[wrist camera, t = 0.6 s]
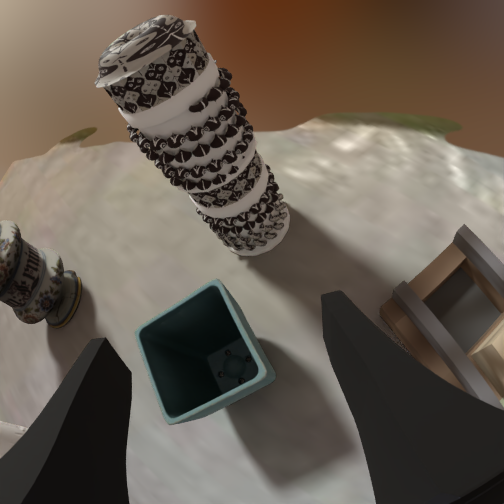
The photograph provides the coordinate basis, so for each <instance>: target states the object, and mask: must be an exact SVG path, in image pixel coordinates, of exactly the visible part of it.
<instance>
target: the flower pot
mask: <svg viewBox="0 0 504 504" xmlns="http://www.w3.org/2000/svg"><path fill="white" fill-rule="evenodd" d="M135 338H136V341H137V344H138V348H139V350H140V353H141V356H142V359H143V361H144V365H145V367H146V370H147V373H148V376H149V379H150V382H151V384H152V387H153V390H154V393H155V395H156V398H157V401H158V404H159V406H160V409H161V412H162V415H163V417H164V419H165V421H166V422H167V423H168V424H169V425H174V424H179V423H184V422H188V421H192V420H196V419H200V418H203V417H206V416H208V415H210V414H212V413H214V412H216V411H218V410H220V409H222V408H224V407H226V406H228V405H230V404H232V403H234V402H236V401H238V400H240V399H242V398H244V397H246V396H247V395H249V394H251V393H253V392H255V391H257V390H259V389H261V388H263V387H264V386H266V385H268V384H270V383H272V382H273V381H274V380H275V379H276V374H275V372H274V370H273V368H272V366H271V364H270V362H269V361H268V359H267V357H266V355H265V353H264V352H263V350H262V348H261V346H260V344H259V342H258V340H257V339H256V337H255V335H254V333H253V331H252V329H251V327H250V325H249V323H248V322H247V320H246V318H245V316H244V314H243V312H242V310H241V308H240V306H239V305H238V303H237V302H236V301H235V299H234V298H233V297H232V295H231V294H230V293H229V291H228V290H227V289H226V287H225V286H224V285H223V284H222V282H221V281H220V280H219V279H214V280H211V281H209V282H208V283H206V284H205V285H203V286H202V287H200V288H199V289H197V290H196V291H194V292H193V293H191V294H190V295H188V296H187V297H185V298H183V299H182V300H181V301H179V302H177V303H176V304H174V305H173V306H171V307H170V308H168V309H166V310H165V311H163V312H162V313H160V314H158V315H156V316H155V317H154V318H152V319H150V320H149V321H147V322H146V323H144V324H142V325H141V326H140V327H138V328H137V329H136V331H135ZM227 351H230V352H231V354H230V355H229V356H227V355H226V352H227ZM247 357H251V361H250V362H248V361H247V360H246V358H247ZM220 372H223V373H224V376H223V377H220V376H219V374H220ZM240 379H244V383H243V384H241V383H240Z"/></svg>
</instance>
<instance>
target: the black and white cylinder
mask: <svg viewBox="0 0 504 504" xmlns="http://www.w3.org/2000/svg"><path fill="white" fill-rule="evenodd" d="M195 27H196V23H195V21H190V20H186V21H183V20H181V19H179V18H177V17H175V16H172V15H160V16H158V17H154V18H152V19H149V20H147V21H145V22H143V23H141V24H139V25H137V26H136V27H134V28H132V29H131V30H129V31H128V32H126V33H125V34H123V35H122V36H120V37H119V38H118V39H117V40H115V41H114V42H113V43H112V44H110V46H109V47H107V48H106V49H105V51H104V52H103V53H102V55H101V57H100V59H99V76H98V78H97V80H96V82H95V85H96V86H97V87H104V89H105V90H106V91H107V92H108V94H109V95H110V96H111V98H112V99H113V100H114V102H115V103H116V104H117V105H118V107H119V109H118V110H119V111H120V113H121V114H122V116H123V117H124V118H125V119H126V120H127V122H128V125H127V130H128V131H129V132H130V139H131V141H133V142H137V145H138V146H139V147H140V150H141V152H143V153H147V154H146V157H147V158H148V159H149V160H152V161H153V160H155V166H156V167H157V168H158V169H162V172H163V174H164V176H165V177H166V178H170V183H171V184H172V185H174V186H176V187H177V188H178V189H180V190H183V191H185V192H188V194H189V197H190V198H191V200H192V201H193V202H194V204H195V205H196V206H197V209H196V211H197V213H198V214H199V215H203V221H205V222H206V223H210V229H211V230H212V231H213V232H214V233H216V235H217V237H218V238H219V239H221V240H222V242H223V244H224V245H225V246H227V247H228V248H229V250H230V251H232V252H234V253H236V254H239V255H241V256H257V255H260V254H262V253H265V252H268V251H270V250H271V249H273V248H274V247H275V246H276V245H277V244H279V243H280V242H281V241H282V239H283V238H284V236H285V234H286V233H287V231H288V229H289V223H290V214H289V212H288V209H287V204H286V203H285V202H283V201H282V199H283V195H282V194H278V193H277V192H276V191H278V190H279V187H278V184H277V183H276V182H273V181H274V175H273V173H271V172H270V167H269V166H268V165H266V164H265V163H264V161H263V159H262V157H261V155H260V154H258V153H257V151H256V145H257V142H256V139H255V136H254V133H253V127H252V125H250V124H249V122H248V121H247V120H246V118H245V116H246V114H247V111H246V109H245V108H244V107H243V105H242V103H240V102H239V97H240V96H239V93H238V92H237V91H235V90H234V89H233V88H231V87H229V86H230V80H231V79H232V74H231V73H229V72H228V70H227V69H225V68H217V66H216V64H215V63H216V60H215V61H214V60H213V58H212V56H211V55H210V53H207V52H206V51H205V49H204V47H203V45H202V43H201V41H200V40H199V37H198V35H197V34H196V32H195V30H194V28H195ZM219 76H220V77H221V78H220V77H219ZM235 110H236V111H237V112H238V113H239V115H237V113H236V111H235ZM137 130H140V131H141V132H140V133H139V135H137V133H136V132H137ZM148 147H150V149H149V148H148Z"/></svg>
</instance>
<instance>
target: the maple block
mask: <svg viewBox="0 0 504 504" xmlns="http://www.w3.org/2000/svg"><path fill="white" fill-rule="evenodd" d="M471 356H472V358H473V359H474V360H475V362H476V363H477V364H478V366H479V367H480V368H481V370H482V371H483V372H484V374H485V375H486V377H487V378H488V379H489V381H490V382H491V384H492V385H493V386H494V388H495V389H496V391H497V392H498V394H499V395H500V396H504V319H503V320H502V321H501V322H500V323H499V325H498V326H497V327H496V328H495V329H494V330H493V332H492V333H491V334H490V335H489V336H488V337H487V338H486V339H485V341H484V342H483V343H482V344H481V345H480V346H479V347H478V348H477V349H476V350H475V351H474V352H473V353H472V354H471Z"/></svg>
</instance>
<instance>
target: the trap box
mask: <svg viewBox="0 0 504 504" xmlns="http://www.w3.org/2000/svg"><path fill="white" fill-rule="evenodd" d="M380 316H381V317H382V318H383V319H384V321H385V322H386V323H387V324H388V326H389V327H390V328H391V329H392V331H393V332H394V333H395V334H396V336H397V337H398V338H399V339H400V341H401V342H402V343H403V344H404V346H405V347H406V348H407V350H408V351H409V352H410V353H411V355H412V356H413V357H414V359H416V360H417V361H418V362H420V363H421V364H422V365H424V366H425V367H427V368H428V369H429V370H431V371H432V372H434V373H435V374H437V375H438V376H440V377H441V378H443V379H444V380H446V381H447V382H449V383H451V384H452V385H454V386H456V387H458V388H460V389H461V390H463V391H465V392H467V393H469V394H470V395H472V396H474V397H476V398H478V399H480V400H482V401H484V402H486V403H488V404H490V405H492V406H495V407H497V408H499V409H502V410H504V396H500V395H499V394H498V392H497V391H496V389H495V388H494V386H493V385H492V384H491V382H490V381H489V379H488V378H487V377H486V375H485V374H484V372H483V371H482V370H481V368H480V367H479V366H478V364H477V363H476V362H475V360H474V359H473V358H472V356H471V354H472V353H473V352H474V351H475V350H476V349H477V348H478V347H479V346H480V345H481V344H482V343H483V342H484V341H485V339H486V338H487V337H488V336H489V335H490V334H491V333H492V332H493V330H494V329H495V328H496V327H497V326H498V325H499V323H500V322H501V321H502V320H503V319H504V265H503V263H502V262H501V261H500V260H499V259H498V258H497V257H496V256H495V255H494V254H493V253H492V251H491V250H490V249H489V248H488V247H487V246H486V245H485V244H484V243H483V242H482V241H481V240H480V239H479V238H478V237H477V236H476V235H475V234H474V233H473V232H472V231H471V230H470V229H469V228H468V227H467V226H466V225H465V224H464V225H463V226H462V227H461V228H460V229H459V230H458V231H457V232H456V235H455V237H454V240H453V242H452V243H451V244H450V245H449V246H448V247H447V248H446V249H445V250H444V251H443V252H442V253H441V254H440V255H439V256H438V257H437V258H436V259H435V260H434V261H432V262H431V263H430V264H429V265H428V266H427V267H426V268H425V269H424V270H423V271H422V272H421V273H419V274H418V275H417V276H416V277H415V278H414V279H413V280H412V281H410V282H409V283H408V284H407V283H406V282H405V281H403V282H402V283H401V284H399V285H398V286H397V287H396V288H395V289H394V290H393V295H392V298H391V299H390V300H388V301H387V302H386V303H385V304H384V305H382V306H381V308H380Z"/></svg>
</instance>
